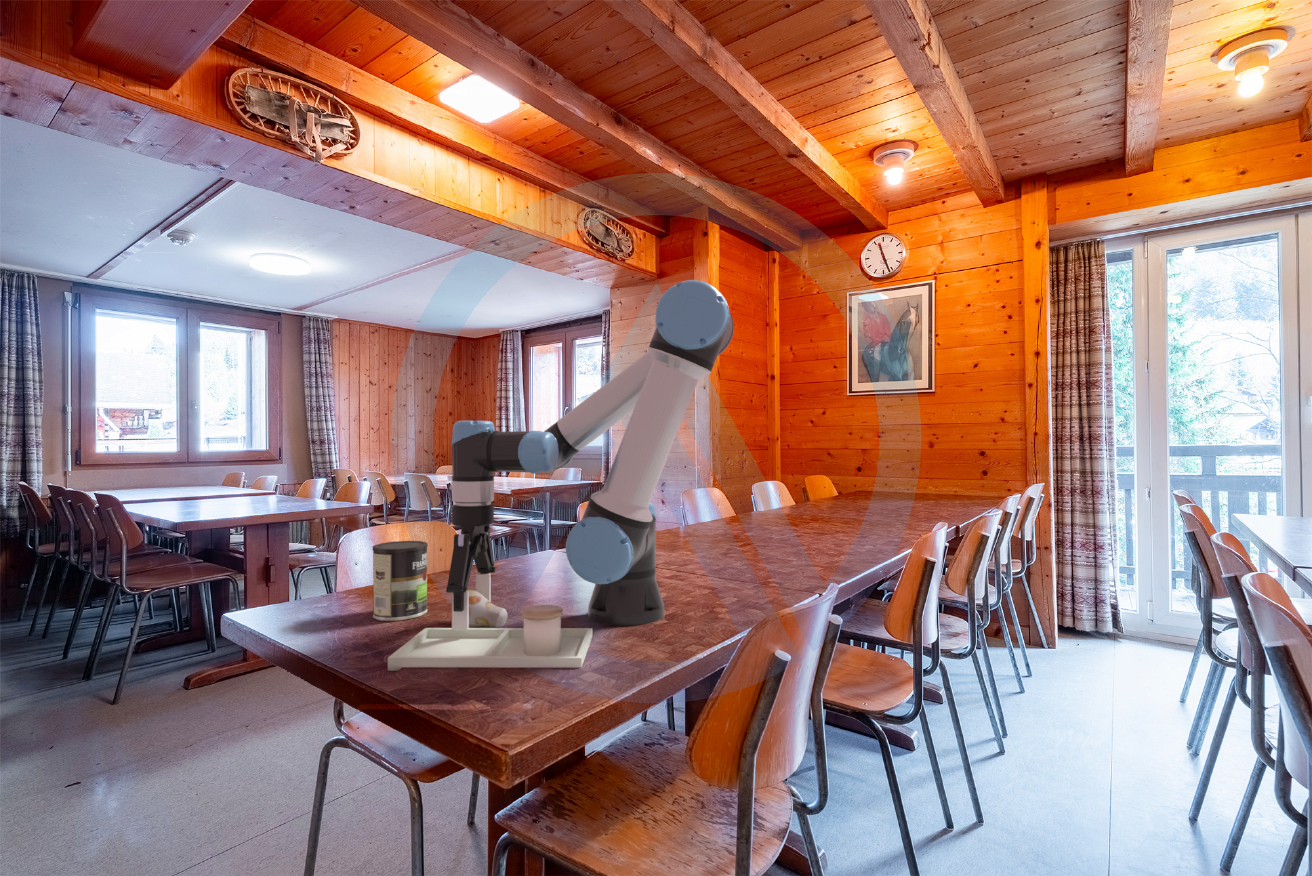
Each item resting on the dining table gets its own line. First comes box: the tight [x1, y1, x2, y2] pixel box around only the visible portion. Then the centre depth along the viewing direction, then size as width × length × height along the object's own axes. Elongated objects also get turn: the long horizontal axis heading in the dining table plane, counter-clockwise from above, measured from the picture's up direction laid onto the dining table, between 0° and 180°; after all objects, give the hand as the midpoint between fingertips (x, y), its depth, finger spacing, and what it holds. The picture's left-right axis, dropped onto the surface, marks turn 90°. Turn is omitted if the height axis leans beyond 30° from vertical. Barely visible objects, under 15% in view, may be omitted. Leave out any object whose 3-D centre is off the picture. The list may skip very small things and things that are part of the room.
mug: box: [450, 589, 508, 628], centre depth 114 cm, size 8×10×10 cm
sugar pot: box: [521, 604, 564, 656], centre depth 99 cm, size 7×7×7 cm
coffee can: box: [372, 540, 429, 622], centre depth 122 cm, size 10×10×14 cm
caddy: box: [387, 627, 593, 672], centre depth 99 cm, size 30×15×2 cm, turn 89°
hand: (472, 617), depth 112 cm, fingers open, 13 cm apart
